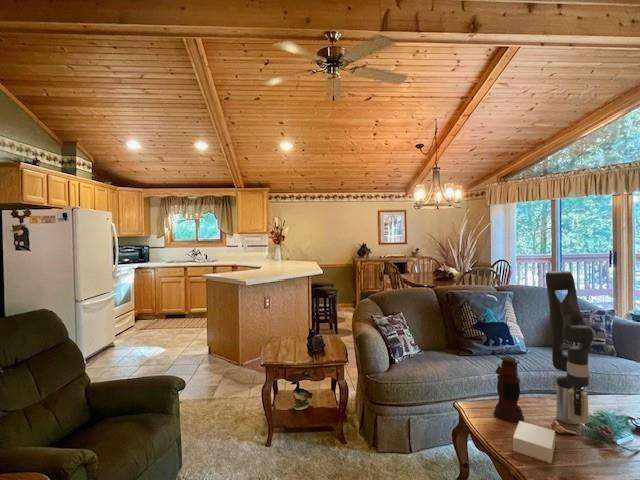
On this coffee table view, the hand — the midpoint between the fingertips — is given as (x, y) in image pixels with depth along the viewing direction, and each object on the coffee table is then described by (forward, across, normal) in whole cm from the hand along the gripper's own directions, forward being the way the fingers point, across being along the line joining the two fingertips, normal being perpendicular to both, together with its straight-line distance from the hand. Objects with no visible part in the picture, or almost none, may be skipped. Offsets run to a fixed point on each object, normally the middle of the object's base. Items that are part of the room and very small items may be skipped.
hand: (578, 411), depth 151 cm
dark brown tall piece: (+19, -17, -29) cm, 39 cm away
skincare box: (+4, 0, 0) cm, 4 cm away
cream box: (+18, +5, -16) cm, 24 cm away
